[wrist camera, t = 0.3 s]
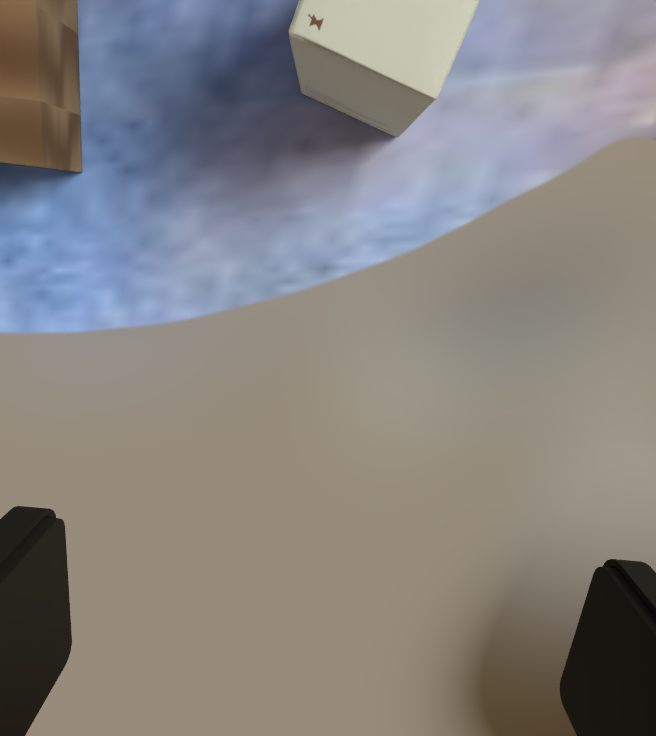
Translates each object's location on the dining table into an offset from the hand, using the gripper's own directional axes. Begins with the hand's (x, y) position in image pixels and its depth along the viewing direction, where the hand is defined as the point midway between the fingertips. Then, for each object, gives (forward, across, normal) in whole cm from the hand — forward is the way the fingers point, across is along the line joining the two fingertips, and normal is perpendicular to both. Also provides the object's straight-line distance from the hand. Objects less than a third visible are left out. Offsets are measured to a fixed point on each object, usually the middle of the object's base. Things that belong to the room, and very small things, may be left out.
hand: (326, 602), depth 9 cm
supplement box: (+31, -1, -16) cm, 35 cm away
